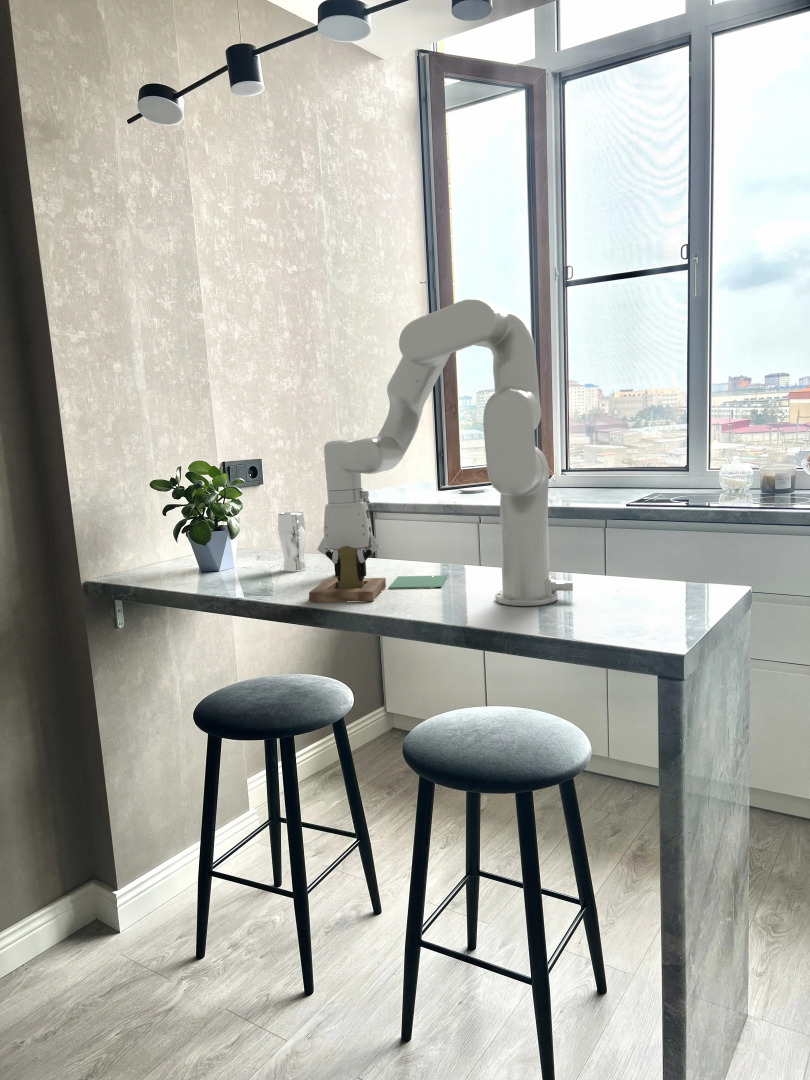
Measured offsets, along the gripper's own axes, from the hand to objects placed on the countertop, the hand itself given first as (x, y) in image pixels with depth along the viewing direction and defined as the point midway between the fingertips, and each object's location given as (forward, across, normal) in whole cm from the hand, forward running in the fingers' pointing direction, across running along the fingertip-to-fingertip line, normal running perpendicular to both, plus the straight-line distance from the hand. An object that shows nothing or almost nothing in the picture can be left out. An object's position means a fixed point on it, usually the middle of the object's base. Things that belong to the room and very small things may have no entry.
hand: (351, 579), depth 174 cm
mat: (+4, -13, -11) cm, 18 cm away
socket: (+3, +1, 0) cm, 4 cm away
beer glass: (+3, +23, -30) cm, 38 cm away
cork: (+3, 0, 0) cm, 3 cm away
